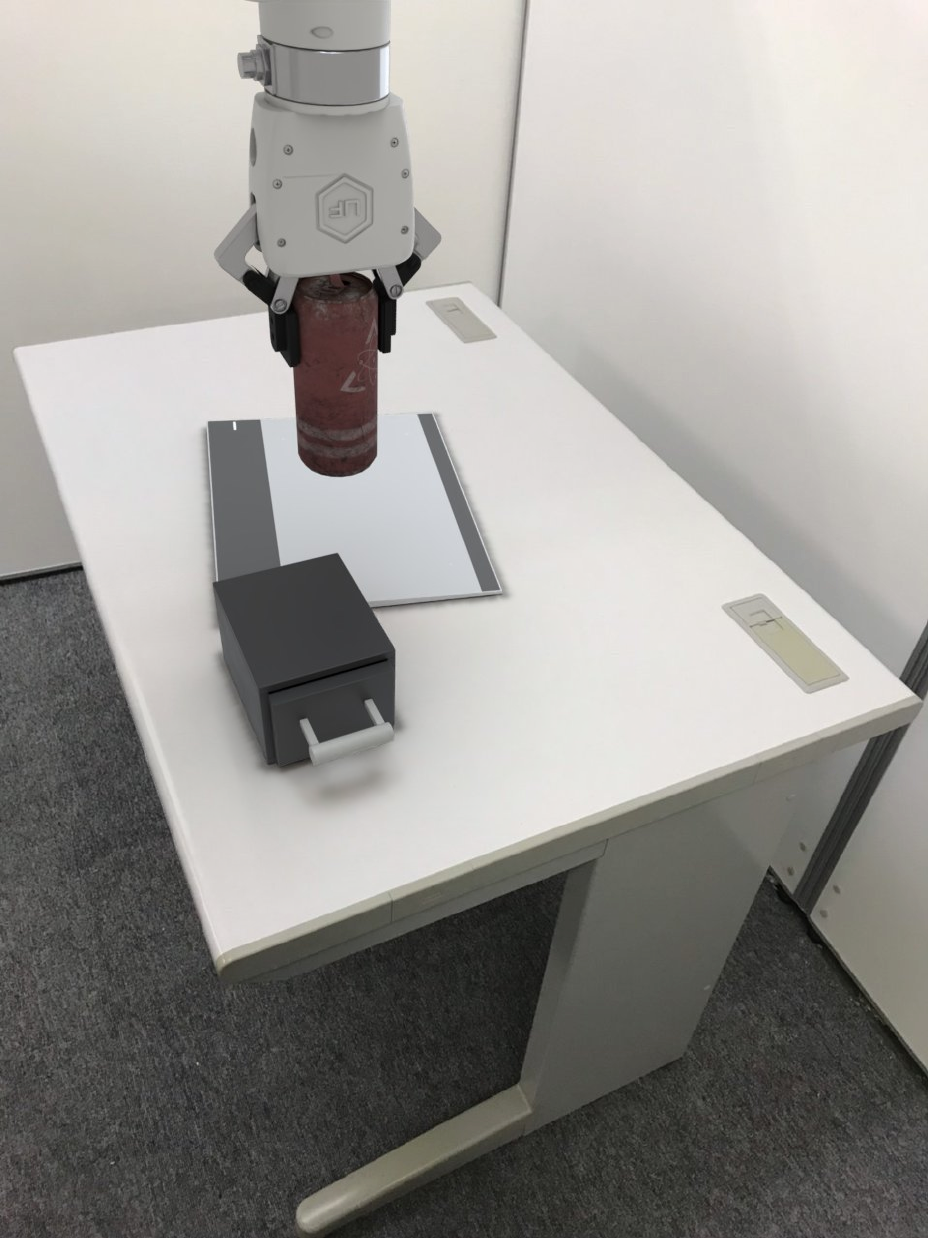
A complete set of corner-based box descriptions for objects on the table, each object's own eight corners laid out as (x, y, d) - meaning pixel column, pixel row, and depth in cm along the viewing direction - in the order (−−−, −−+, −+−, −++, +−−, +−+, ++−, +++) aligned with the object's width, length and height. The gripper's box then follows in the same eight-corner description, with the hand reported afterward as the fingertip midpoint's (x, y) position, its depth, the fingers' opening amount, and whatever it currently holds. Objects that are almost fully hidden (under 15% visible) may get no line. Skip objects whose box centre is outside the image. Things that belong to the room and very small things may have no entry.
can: (364, 431, 79) (363, 260, 69) (386, 473, 74) (388, 297, 65) (290, 440, 77) (279, 266, 67) (308, 484, 72) (299, 305, 63)
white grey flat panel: (501, 593, 89) (503, 583, 89) (219, 623, 84) (218, 613, 83) (432, 414, 112) (433, 406, 111) (207, 429, 107) (206, 420, 106)
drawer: (414, 768, 73) (416, 708, 68) (296, 807, 70) (290, 746, 65) (342, 637, 83) (340, 577, 78) (236, 666, 80) (228, 605, 75)
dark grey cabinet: (394, 725, 77) (396, 649, 71) (267, 765, 73) (258, 688, 68) (340, 627, 85) (337, 551, 79) (223, 658, 81) (212, 582, 76)
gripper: (195, 95, 52) (228, 395, 64) (484, 82, 58) (465, 358, 70) (166, 61, 57) (202, 345, 69) (435, 51, 63) (424, 314, 75)
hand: (334, 349), depth 70 cm, fingers closed on can, 6 cm apart
